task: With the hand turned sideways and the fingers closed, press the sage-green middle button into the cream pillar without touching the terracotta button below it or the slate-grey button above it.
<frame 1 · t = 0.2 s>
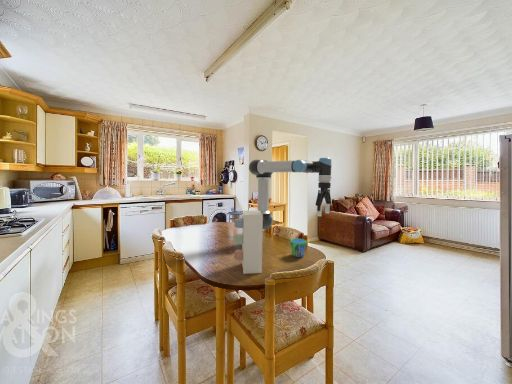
hand: (323, 214, 145), 28 cm above the table, tool pointing down, fingers open, 13 cm apart
sage button: (238, 239, 126), point 17 cm above the table, slide at 0.0 cm
button pillar: (242, 268, 127), on the table
terracotta button: (238, 254, 127), point 8 cm above the table, slide at 0.0 cm
snack cup: (297, 255, 149), on the table
slate button: (238, 223, 125), point 26 cm above the table, slide at 0.0 cm
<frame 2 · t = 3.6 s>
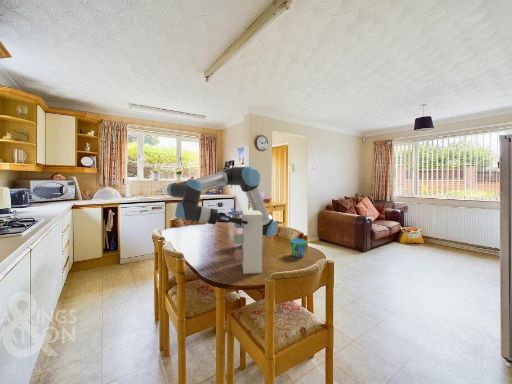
hand: (252, 223, 118), 27 cm above the table, tool horizontal, fingers closed
nothing on the table moved.
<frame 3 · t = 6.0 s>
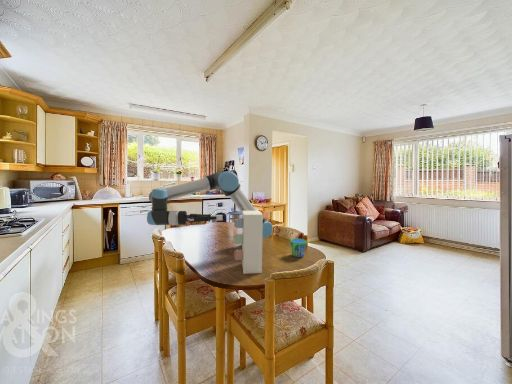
hand: (222, 217, 124), 29 cm above the table, tool horizontal, fingers closed
nothing on the table moved.
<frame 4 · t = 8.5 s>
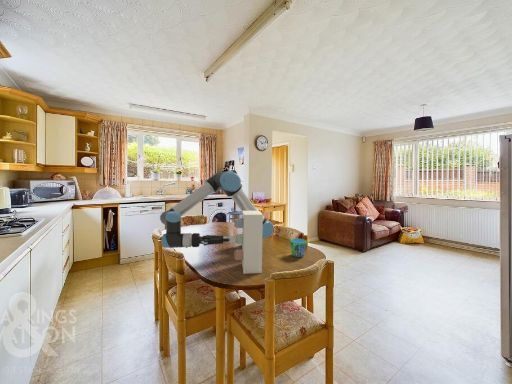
hand: (235, 239, 126), 17 cm above the table, tool horizontal, fingers closed
sage button: (239, 239, 126), point 17 cm above the table, slide at 0.6 cm, touching gripper
everything else where it was.
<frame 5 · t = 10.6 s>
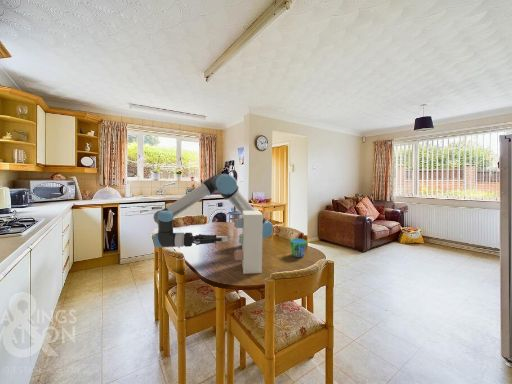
hand: (227, 238, 125), 17 cm above the table, tool horizontal, fingers closed
sage button: (243, 238, 126), point 17 cm above the table, slide at 2.6 cm
everything else where it was.
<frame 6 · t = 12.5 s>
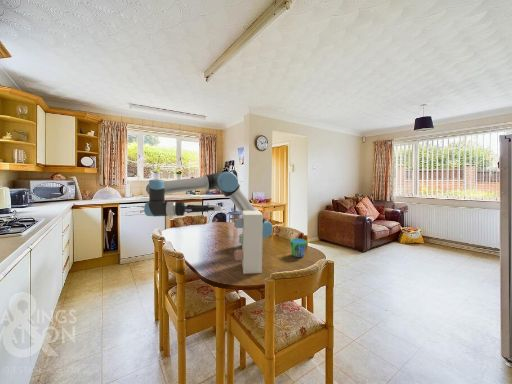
hand: (220, 208, 123), 35 cm above the table, tool horizontal, fingers closed
nothing on the table moved.
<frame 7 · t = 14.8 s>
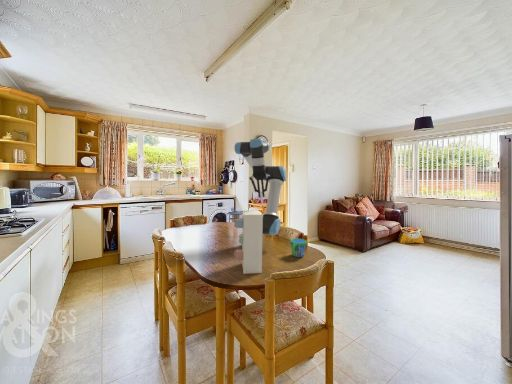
hand: (262, 202, 140), 36 cm above the table, tool pointing down, fingers closed
nothing on the table moved.
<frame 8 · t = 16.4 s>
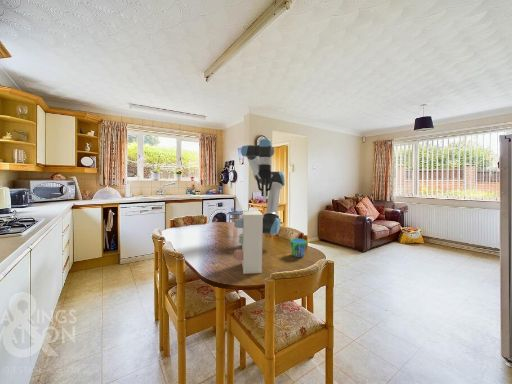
hand: (264, 201, 143), 36 cm above the table, tool pointing down, fingers closed
nothing on the table moved.
at the end: sage button slide at 2.6 cm; terracotta button slide at 0.0 cm; slate button slide at -0.1 cm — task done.
